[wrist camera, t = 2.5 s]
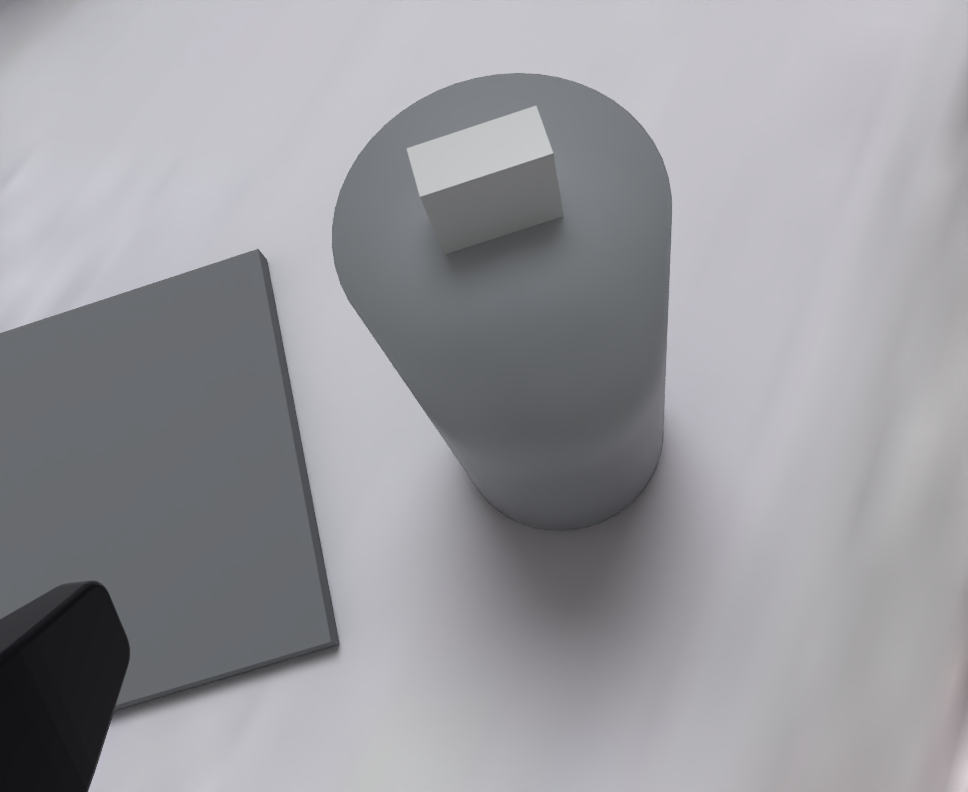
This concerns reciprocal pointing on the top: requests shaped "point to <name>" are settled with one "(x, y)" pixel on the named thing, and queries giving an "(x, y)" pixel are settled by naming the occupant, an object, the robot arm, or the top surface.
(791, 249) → the top surface
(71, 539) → the charcoal mat
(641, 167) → the grey bottle
